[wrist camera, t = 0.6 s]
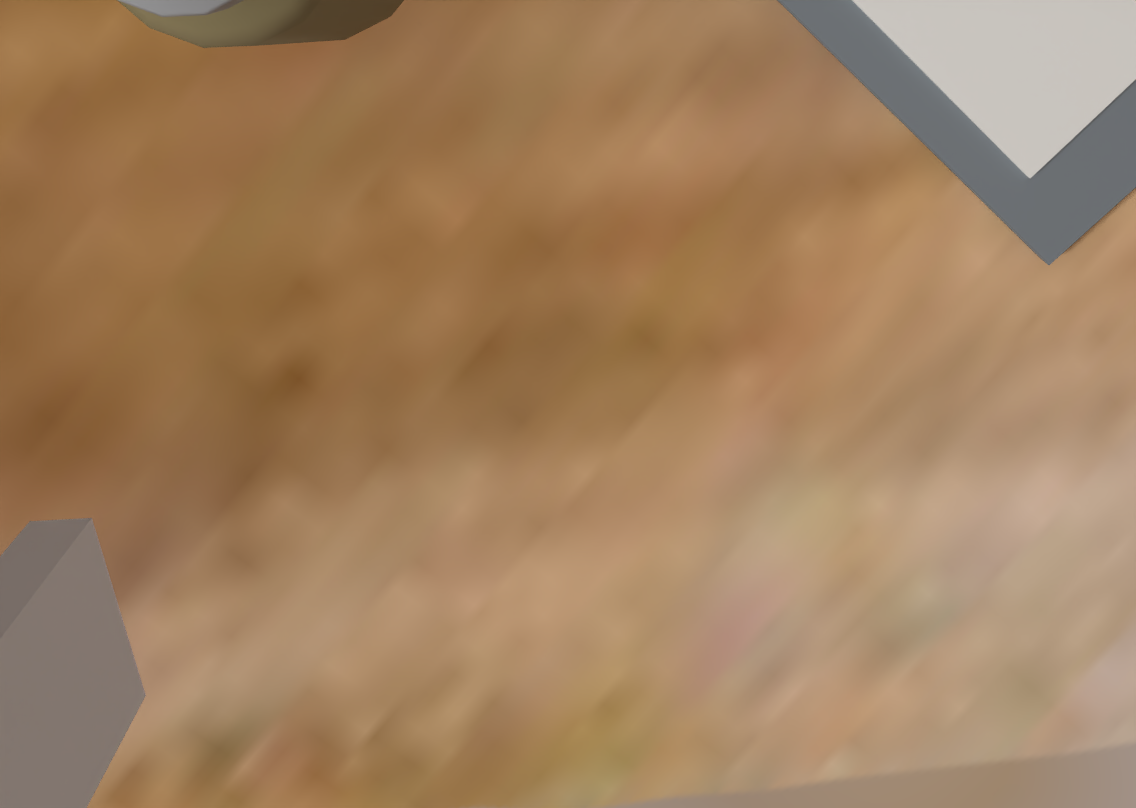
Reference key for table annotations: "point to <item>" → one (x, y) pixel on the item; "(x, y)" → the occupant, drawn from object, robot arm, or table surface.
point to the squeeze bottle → (260, 19)
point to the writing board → (1004, 97)
